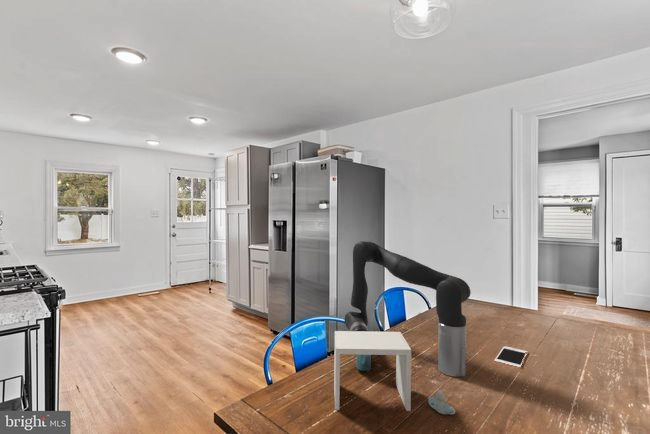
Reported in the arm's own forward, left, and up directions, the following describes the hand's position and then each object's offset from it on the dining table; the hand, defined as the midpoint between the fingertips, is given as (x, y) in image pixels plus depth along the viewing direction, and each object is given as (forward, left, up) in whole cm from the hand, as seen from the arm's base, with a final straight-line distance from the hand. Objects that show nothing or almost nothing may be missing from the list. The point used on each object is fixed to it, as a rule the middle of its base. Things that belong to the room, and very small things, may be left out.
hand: (364, 352), depth 113 cm
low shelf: (-5, +13, -8) cm, 16 cm away
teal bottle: (+1, -2, -6) cm, 7 cm away
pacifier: (-26, +11, -8) cm, 30 cm away
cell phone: (-50, -37, -8) cm, 63 cm away
